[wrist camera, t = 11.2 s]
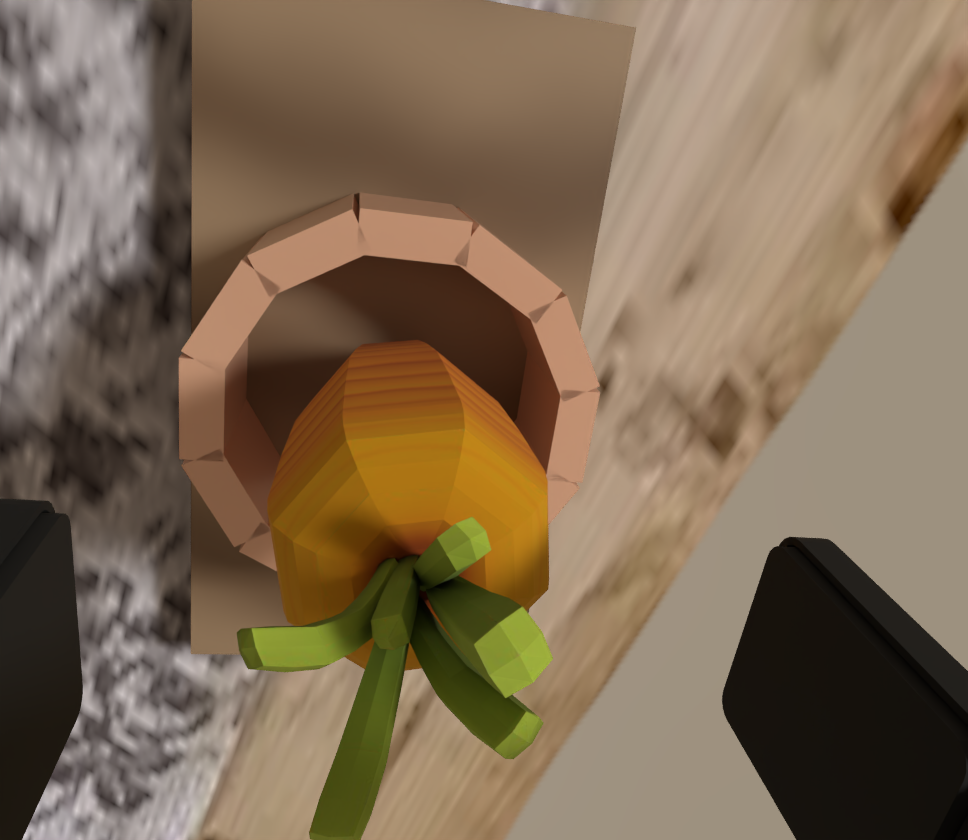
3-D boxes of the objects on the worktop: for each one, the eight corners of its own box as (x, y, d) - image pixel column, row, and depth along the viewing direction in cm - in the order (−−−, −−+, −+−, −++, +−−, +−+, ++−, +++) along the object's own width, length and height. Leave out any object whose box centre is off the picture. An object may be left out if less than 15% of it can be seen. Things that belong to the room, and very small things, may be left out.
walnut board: (204, -41, 19) (192, -53, 18) (617, 34, 21) (635, 27, 20) (199, 625, 26) (190, 653, 24) (512, 631, 28) (520, 657, 27)
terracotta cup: (211, 173, 19) (178, 185, 16) (583, 220, 21) (630, 241, 18) (208, 517, 23) (179, 593, 19) (528, 532, 25) (558, 603, 21)
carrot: (355, 474, 23) (350, 989, 9) (270, 332, 21) (100, 708, 7) (502, 402, 23) (721, 810, 9) (429, 253, 21) (565, 480, 7)
